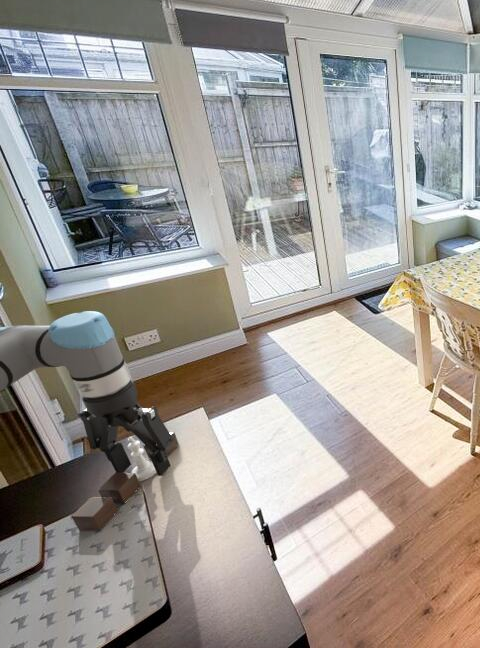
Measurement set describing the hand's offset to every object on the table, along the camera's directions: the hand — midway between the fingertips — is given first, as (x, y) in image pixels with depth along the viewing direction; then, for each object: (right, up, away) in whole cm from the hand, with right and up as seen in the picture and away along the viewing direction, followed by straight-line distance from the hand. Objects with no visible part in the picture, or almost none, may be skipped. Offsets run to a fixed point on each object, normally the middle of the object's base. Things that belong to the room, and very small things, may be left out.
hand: (144, 470), depth 89 cm
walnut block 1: (0, -5, -10) cm, 11 cm away
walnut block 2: (0, -3, -5) cm, 6 cm away
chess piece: (0, -1, 0) cm, 1 cm away
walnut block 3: (0, +2, +5) cm, 6 cm away
